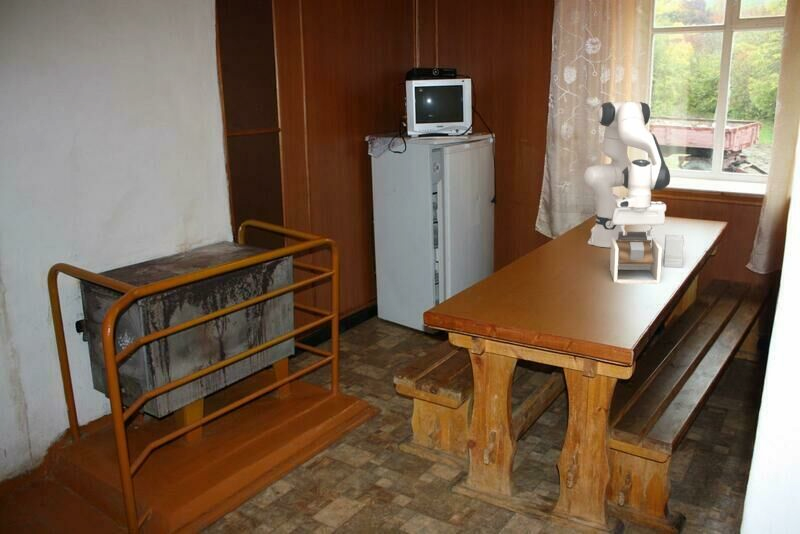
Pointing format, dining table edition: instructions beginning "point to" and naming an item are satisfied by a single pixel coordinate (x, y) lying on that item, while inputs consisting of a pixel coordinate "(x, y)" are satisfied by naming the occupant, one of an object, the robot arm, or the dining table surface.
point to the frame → (653, 268)
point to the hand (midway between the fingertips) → (637, 235)
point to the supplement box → (673, 250)
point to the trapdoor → (624, 246)
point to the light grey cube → (636, 250)
